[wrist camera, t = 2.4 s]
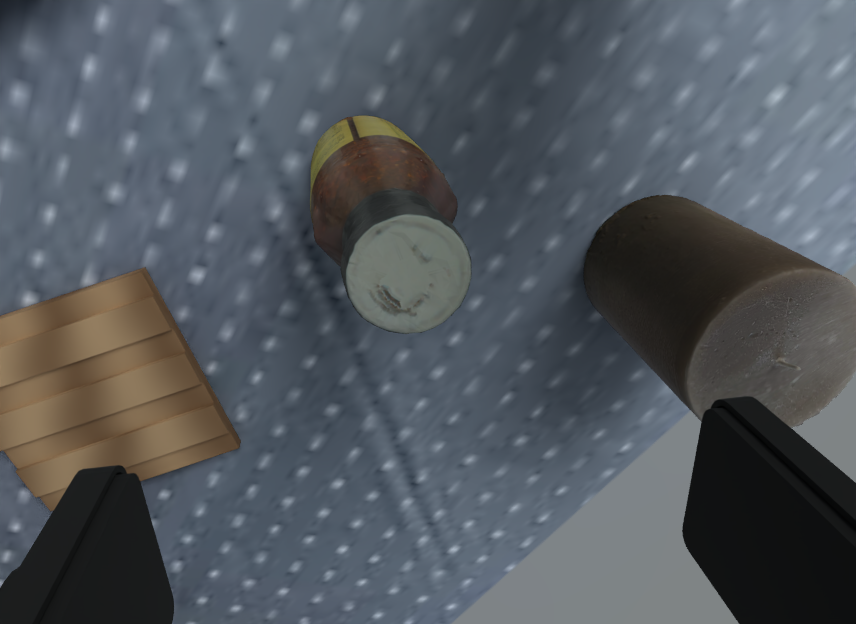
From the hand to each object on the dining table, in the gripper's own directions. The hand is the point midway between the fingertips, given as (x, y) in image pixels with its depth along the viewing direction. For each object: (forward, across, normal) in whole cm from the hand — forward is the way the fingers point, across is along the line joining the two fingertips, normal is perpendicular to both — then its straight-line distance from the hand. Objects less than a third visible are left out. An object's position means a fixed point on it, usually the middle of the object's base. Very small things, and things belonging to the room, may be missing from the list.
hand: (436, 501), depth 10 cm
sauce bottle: (+30, 0, 0) cm, 30 cm away
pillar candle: (+30, -19, +8) cm, 36 cm away
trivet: (+30, +19, +14) cm, 38 cm away
